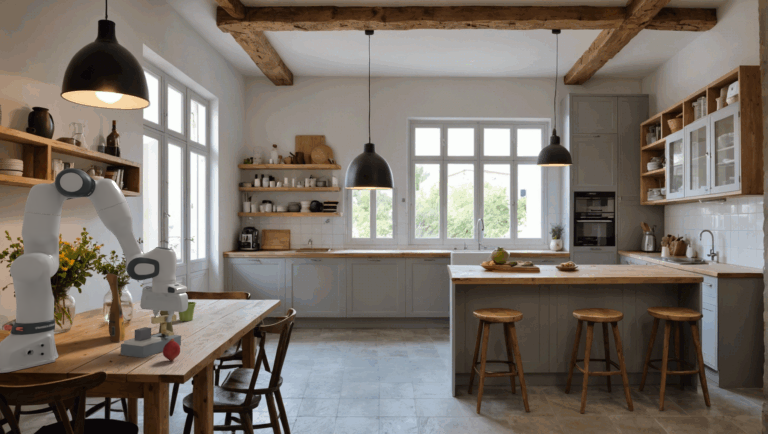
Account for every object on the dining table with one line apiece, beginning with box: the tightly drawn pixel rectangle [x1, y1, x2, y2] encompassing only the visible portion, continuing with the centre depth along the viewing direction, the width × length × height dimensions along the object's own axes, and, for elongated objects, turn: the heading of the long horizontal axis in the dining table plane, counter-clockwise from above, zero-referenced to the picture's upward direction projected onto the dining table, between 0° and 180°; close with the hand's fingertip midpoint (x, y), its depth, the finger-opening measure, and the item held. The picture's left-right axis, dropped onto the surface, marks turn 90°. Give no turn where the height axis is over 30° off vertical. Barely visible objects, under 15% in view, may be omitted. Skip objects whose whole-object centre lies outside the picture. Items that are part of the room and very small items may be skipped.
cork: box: [158, 311, 174, 334], centre depth 216 cm, size 6×6×11 cm
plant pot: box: [178, 301, 197, 322], centre depth 243 cm, size 9×9×9 cm
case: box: [120, 332, 182, 359], centre depth 187 cm, size 19×11×4 cm, turn 161°
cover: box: [123, 326, 161, 346], centre depth 183 cm, size 9×9×5 cm
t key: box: [150, 313, 177, 336], centre depth 191 cm, size 8×9×8 cm
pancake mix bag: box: [105, 272, 126, 343], centre depth 205 cm, size 7×19×28 cm, turn 33°
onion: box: [162, 339, 181, 362], centre depth 173 cm, size 6×6×8 cm
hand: (163, 321), depth 193 cm, fingers closed on t key, 3 cm apart
